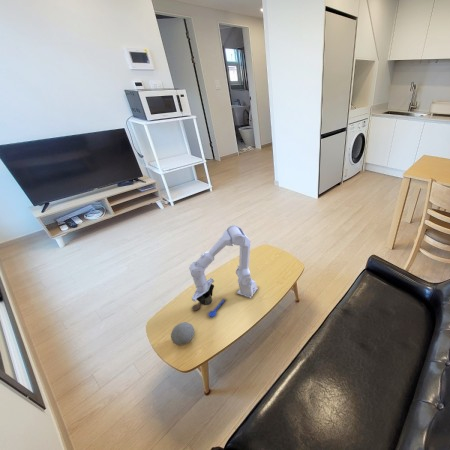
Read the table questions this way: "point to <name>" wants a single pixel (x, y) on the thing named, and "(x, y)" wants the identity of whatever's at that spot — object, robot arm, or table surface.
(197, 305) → the wooden spoon
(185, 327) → the decorative ball
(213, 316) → the blue spoon
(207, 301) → the dark metal cup
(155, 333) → the table surface
